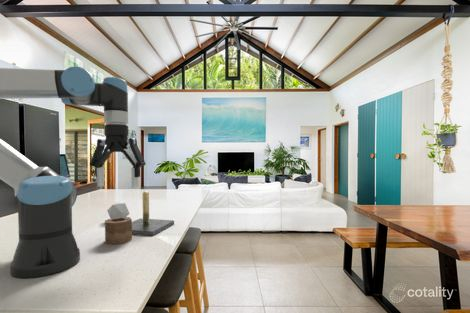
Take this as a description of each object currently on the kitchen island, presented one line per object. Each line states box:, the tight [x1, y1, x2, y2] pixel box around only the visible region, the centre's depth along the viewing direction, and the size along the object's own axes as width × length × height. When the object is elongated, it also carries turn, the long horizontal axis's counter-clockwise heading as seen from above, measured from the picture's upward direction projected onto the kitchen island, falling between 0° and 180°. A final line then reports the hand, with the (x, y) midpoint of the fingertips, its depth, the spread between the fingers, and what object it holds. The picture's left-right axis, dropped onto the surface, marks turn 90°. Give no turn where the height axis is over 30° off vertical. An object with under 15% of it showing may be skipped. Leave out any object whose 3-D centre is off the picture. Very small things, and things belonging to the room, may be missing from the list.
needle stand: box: [132, 190, 175, 236], centre depth 105 cm, size 16×16×15 cm
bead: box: [104, 216, 133, 245], centre depth 91 cm, size 8×8×7 cm
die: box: [107, 202, 130, 219], centre depth 118 cm, size 8×9×10 cm
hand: (117, 186), depth 91 cm, fingers open, 13 cm apart
